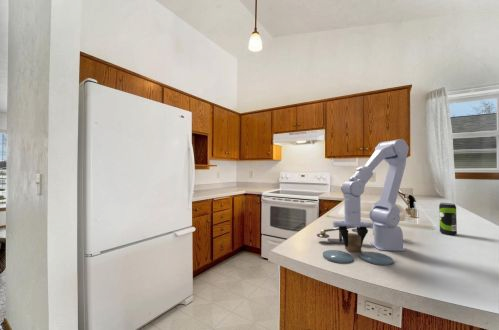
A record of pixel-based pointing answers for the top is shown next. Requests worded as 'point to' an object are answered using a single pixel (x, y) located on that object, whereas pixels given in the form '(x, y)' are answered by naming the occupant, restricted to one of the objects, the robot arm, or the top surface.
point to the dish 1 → (337, 256)
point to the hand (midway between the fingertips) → (352, 246)
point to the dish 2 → (376, 258)
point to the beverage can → (448, 218)
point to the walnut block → (354, 243)
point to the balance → (333, 241)
